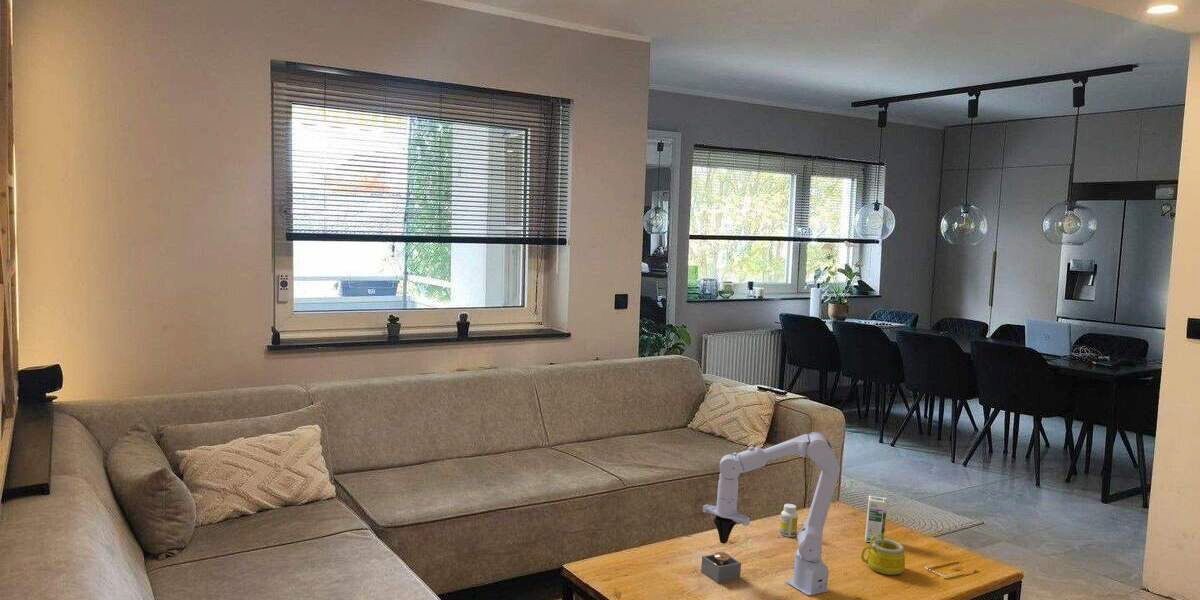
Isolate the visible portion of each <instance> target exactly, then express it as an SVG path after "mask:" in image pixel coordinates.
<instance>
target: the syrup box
mask: <svg viewBox="0 0 1200 600" xmlns="http://www.w3.org/2000/svg"><path fill="white" fill-rule="evenodd" d="M887 510H888V498H887V497H883V496H882V497H881V496H875V495H868V502H867V511H866V513H867V514H866V525H865V533H864V535H865V537H864V541H865V543H867V542H870V539H871V538H872V534H873V535H875V534H880V535H882V536H883V538H884V539H885V530H886V521H887V512H888V511H887ZM869 529H871V532H872V534H871V532H870V531H869ZM878 536H879V535H877V536H875V538H876V539H877V538H878ZM879 537H880V536H879ZM878 539H882V537H880V538H878ZM872 541H874V539H872ZM872 541H871V542H872Z"/></svg>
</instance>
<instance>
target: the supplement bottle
mask: <svg viewBox="0 0 1200 600" xmlns="http://www.w3.org/2000/svg"><path fill="white" fill-rule="evenodd" d="M798 517H799V515H798V513H797V505H795V504H793V503H785V504H784V505H783V510H782V511H781V512H780V521H779V522H780V523H779V524H780V525H779V534H780V535H781V536H783V537H786V538H793V537H795V536H796V535H797V528H798ZM796 537H797V536H796Z"/></svg>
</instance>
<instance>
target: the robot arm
mask: <svg viewBox="0 0 1200 600" xmlns="http://www.w3.org/2000/svg"><path fill="white" fill-rule="evenodd" d="M806 454H807V456H808V458H809V459H810V460H811V461H812V462H814V463H815V464H816V465H817V467H818V468H819V469H820V474H819V476H818V477H819V478H818V481H817V484H816V487H815V492H814V495H813V498H812V500H811V501H812V502H811V505H810V509H809V511H808V515H807V519H806V520H805V522H804V524H803V526H802V528H801V529H800V531H798V533H797V534H796V535H797V536H796V539H797V540H796V541H797V542H798V544H797V545H798V548H797V550H795V553H794V554H795V555H794V565H793V574H792V575H793V577H792V578H791V579H786V581H785V583H787V584H788V585H790V586H792V587H793V588H795V589H797V590H798V591H800V592H801V593H803V594H805V595H806V596H808V597H810V596H814V595H818V594H823V593H827V592H830V589H829V588H828V581H829V571H830V570H829V567H828V566H827V565H826V563H824V561H823V560H822V553H823V549H822V541H823V536H824V535H823V534H824V533H823V532H824V527H825V522H826V520H827V516H828V513H829V510H830V506H831V503H832V499H833V496H834V493H835V489H836V486H837V482H838V479H839V476H840V471H841V467H840V465H839V463H838V459H837V457H836V454H835V451H834V449H833V447H832V443H831V442H830V440H829V439H828V438H827V437H826V436H825V434H823V433H822V432H818V431H812V432H810V433H809V434H808V433H805V434H801V435H798V436H796V437H793V438H790V439H788V440H786V441H783V442H781V443H777V444H775V445H773V446H770V447H766V448H762V447H759V446H756V447H754V446H748V449H747V450H743V451H741V452H733V453H732V454H725V455H723V456H722V458H721V459H720V461H719V472H720V473H719V475H718V477H719V479H718V483H717V484H718V485H717V493H716V494H717V495H716V497H717V499H716V505H711V504H707V503H706V504H704V505H703V506H702V512H703V513H706V514H707V513H708V514H711V515H714V516H715V517H714V518H713V523H714V524H715V527H716V529H717V530H716V531H717V532H718V537H719V543H721V544H724V545H725V544H726V543H728V542H729V538H730V535H731V533H732V531H733V529H734V527H735V525H736V524H737V523H738V524H741V525H743V526H744V527H747V526H749V525H750V521H751V519H750V517H748V516H746V515H744V514H742V513H740V512H738V511H737V508H738V507H737V505H738V493H739V475H740V474H741V473H743V474H744V473H747V472H750V471H754V470H757V469H761V468H763V467H765V465H766V464H767V462H768V461H771V460H775V459H778V458H783V457H788V456H790V455H797V456H800V457H802V458H806Z"/></svg>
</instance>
